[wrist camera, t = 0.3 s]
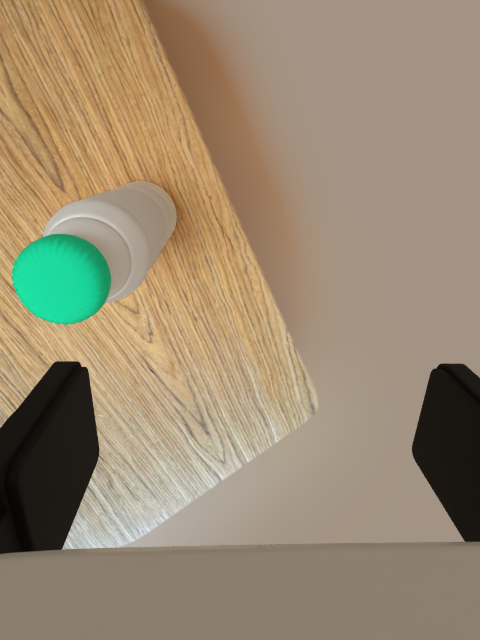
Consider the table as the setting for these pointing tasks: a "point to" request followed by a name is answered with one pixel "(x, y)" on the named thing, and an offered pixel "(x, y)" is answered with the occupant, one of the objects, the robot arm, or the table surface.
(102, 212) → the water bottle
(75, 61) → the table surface
